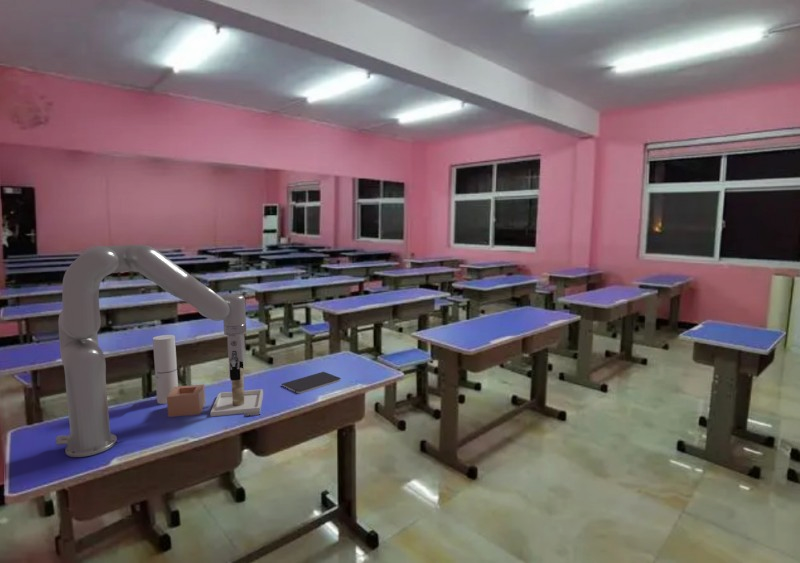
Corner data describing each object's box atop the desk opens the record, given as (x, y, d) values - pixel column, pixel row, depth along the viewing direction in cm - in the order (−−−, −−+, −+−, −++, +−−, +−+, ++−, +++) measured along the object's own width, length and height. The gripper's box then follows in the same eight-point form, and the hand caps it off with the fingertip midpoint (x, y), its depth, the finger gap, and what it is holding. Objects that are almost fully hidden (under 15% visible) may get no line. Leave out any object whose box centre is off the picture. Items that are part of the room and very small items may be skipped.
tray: (210, 419, 149) (210, 412, 149) (219, 399, 167) (219, 392, 166) (259, 414, 153) (259, 407, 153) (263, 395, 170) (262, 389, 170)
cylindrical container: (169, 407, 159) (165, 340, 156) (152, 405, 161) (148, 339, 158) (183, 399, 166) (179, 335, 163) (166, 398, 168) (162, 334, 164)
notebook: (323, 374, 196) (281, 387, 180) (323, 371, 196) (281, 383, 180) (341, 381, 187) (298, 395, 172) (341, 378, 187) (298, 391, 172)
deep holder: (168, 419, 149) (166, 397, 148) (175, 407, 159) (174, 386, 158) (199, 416, 151) (198, 394, 150) (205, 405, 161) (204, 384, 160)
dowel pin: (231, 406, 157) (230, 371, 156) (233, 402, 161) (231, 368, 160) (243, 405, 158) (242, 370, 157) (244, 401, 162) (243, 367, 161)
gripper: (243, 334, 149) (245, 382, 151) (248, 323, 165) (250, 367, 168) (220, 335, 147) (222, 384, 149) (227, 324, 164) (229, 368, 166)
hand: (237, 375), depth 158 cm, fingers open, 9 cm apart
